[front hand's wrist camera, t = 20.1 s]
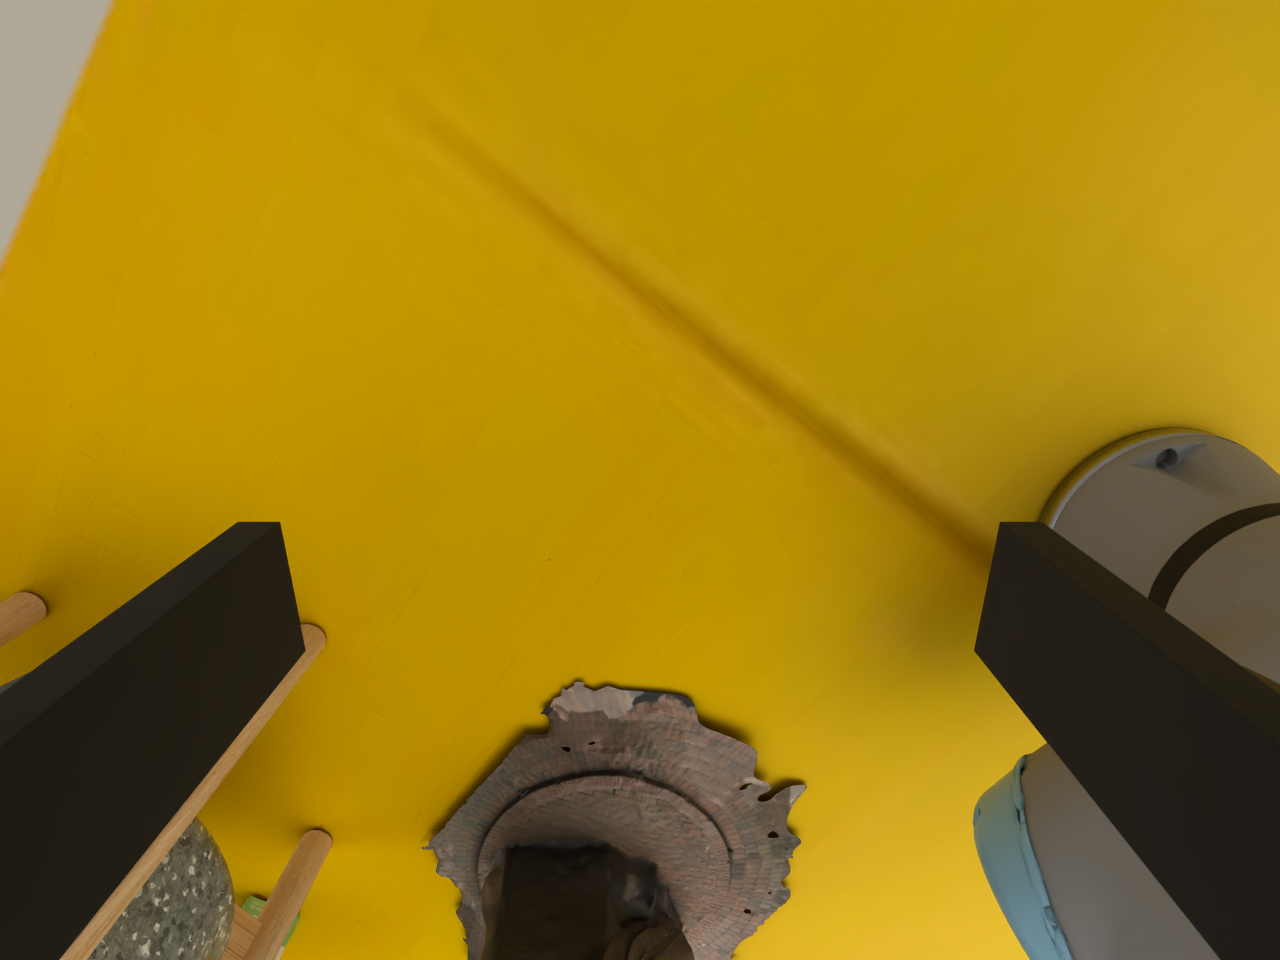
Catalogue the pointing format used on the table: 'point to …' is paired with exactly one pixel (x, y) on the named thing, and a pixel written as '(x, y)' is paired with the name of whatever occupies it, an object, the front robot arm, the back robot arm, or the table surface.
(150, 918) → the planter
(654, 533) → the table surface
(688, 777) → the sculpture
